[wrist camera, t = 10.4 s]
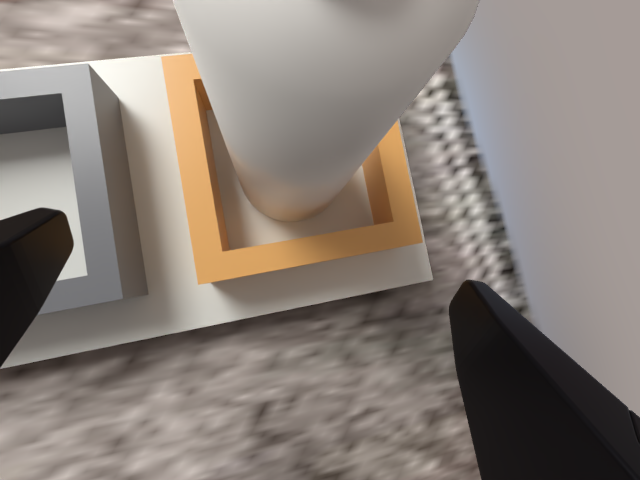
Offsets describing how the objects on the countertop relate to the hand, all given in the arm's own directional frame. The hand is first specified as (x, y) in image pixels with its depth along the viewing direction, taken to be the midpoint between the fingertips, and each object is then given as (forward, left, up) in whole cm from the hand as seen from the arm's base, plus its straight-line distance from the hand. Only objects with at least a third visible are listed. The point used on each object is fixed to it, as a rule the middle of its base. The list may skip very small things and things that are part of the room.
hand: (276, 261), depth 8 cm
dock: (+4, +4, -8) cm, 10 cm away
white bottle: (+4, -1, -7) cm, 9 cm away
